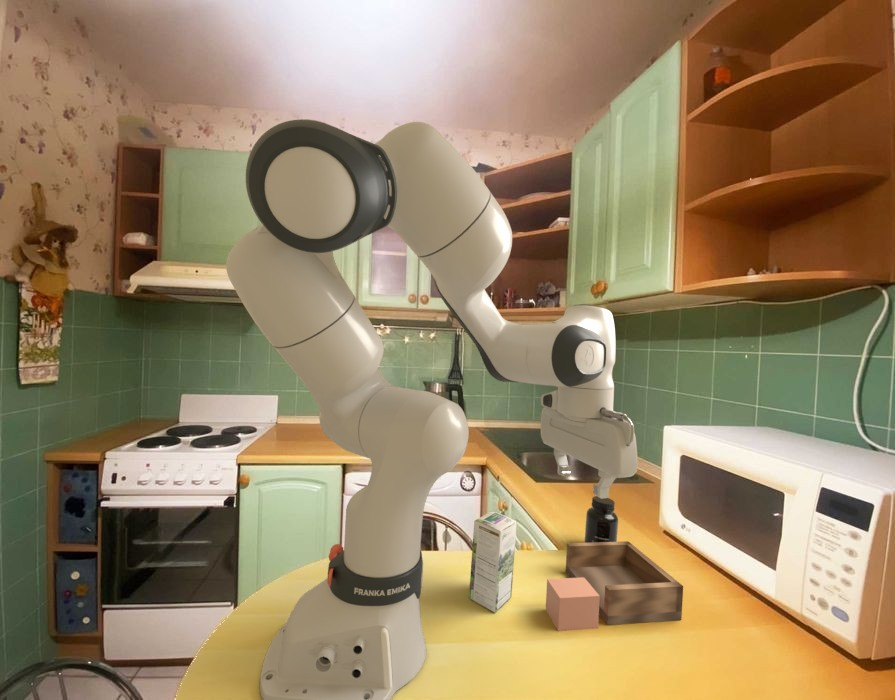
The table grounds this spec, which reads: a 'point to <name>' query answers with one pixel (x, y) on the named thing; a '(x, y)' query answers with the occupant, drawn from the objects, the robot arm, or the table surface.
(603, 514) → the supplement bottle
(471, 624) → the table surface
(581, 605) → the pink rectangular block
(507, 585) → the syrup box
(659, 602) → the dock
